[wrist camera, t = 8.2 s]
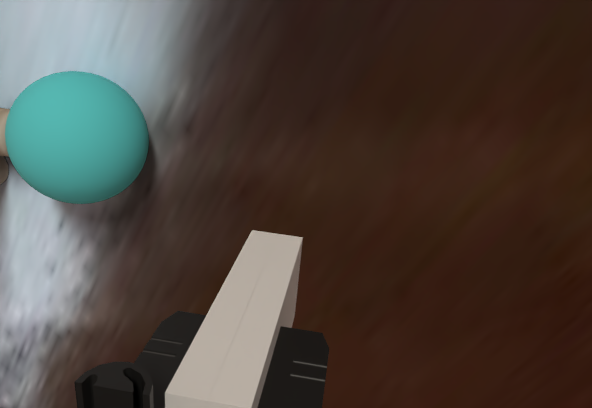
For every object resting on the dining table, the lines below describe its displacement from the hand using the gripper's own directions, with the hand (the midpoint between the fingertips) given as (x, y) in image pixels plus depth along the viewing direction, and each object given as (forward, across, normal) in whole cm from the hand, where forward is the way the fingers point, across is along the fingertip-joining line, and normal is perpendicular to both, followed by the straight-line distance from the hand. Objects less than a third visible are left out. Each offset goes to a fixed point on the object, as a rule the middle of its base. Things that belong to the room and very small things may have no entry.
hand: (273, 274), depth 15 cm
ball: (+8, +11, -1) cm, 13 cm away
